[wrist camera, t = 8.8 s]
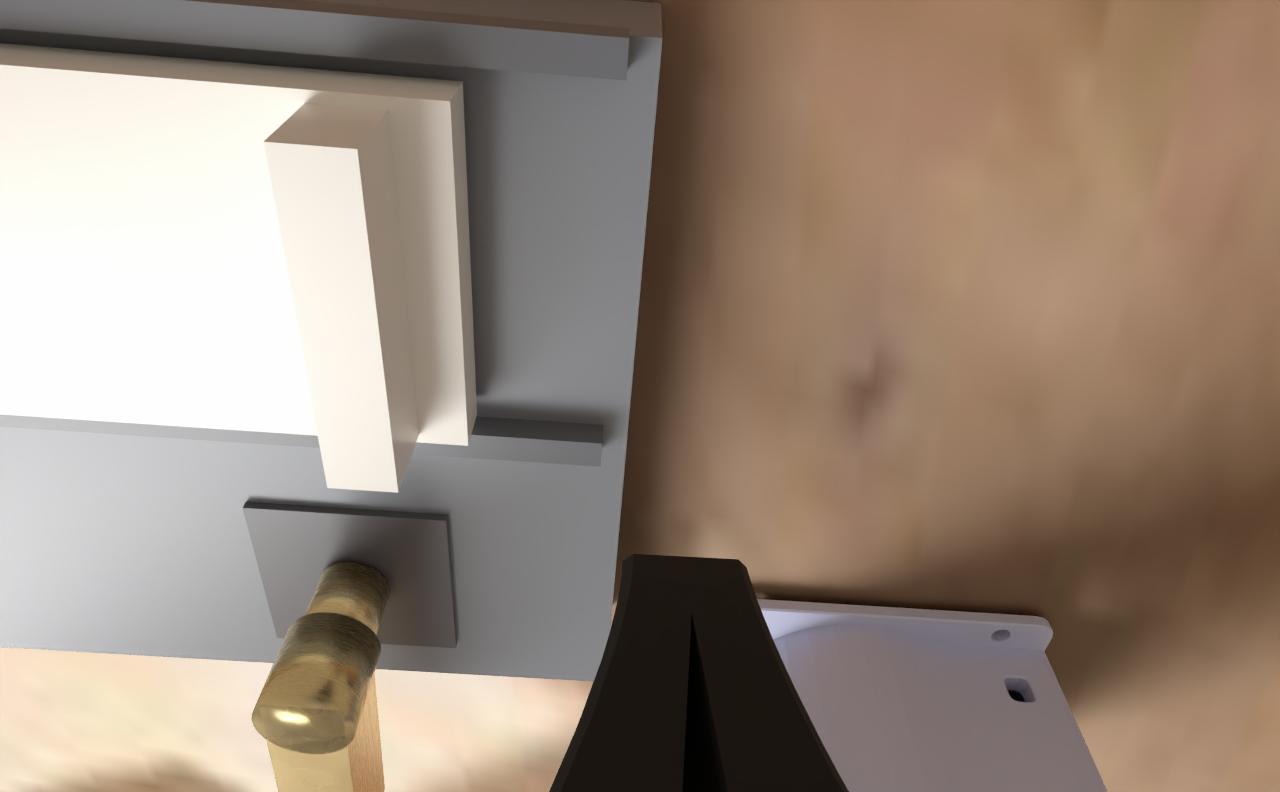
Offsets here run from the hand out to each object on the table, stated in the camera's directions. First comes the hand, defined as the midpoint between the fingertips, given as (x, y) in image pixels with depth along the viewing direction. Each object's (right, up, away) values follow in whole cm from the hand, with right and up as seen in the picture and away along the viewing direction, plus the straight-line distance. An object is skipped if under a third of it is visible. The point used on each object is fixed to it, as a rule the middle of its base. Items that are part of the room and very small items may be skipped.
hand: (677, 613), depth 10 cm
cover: (-8, +5, +5) cm, 11 cm away
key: (-7, -4, +11) cm, 14 cm away
